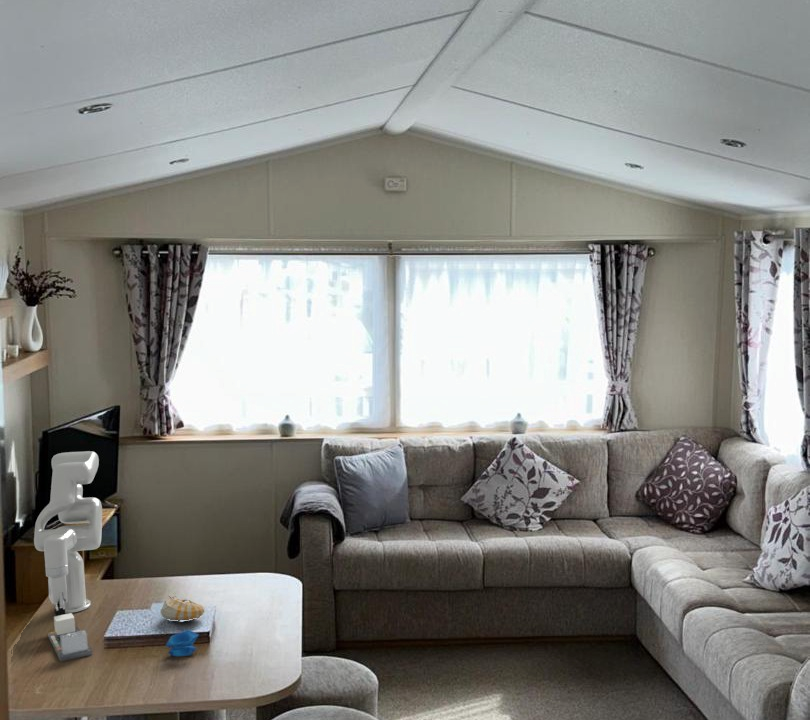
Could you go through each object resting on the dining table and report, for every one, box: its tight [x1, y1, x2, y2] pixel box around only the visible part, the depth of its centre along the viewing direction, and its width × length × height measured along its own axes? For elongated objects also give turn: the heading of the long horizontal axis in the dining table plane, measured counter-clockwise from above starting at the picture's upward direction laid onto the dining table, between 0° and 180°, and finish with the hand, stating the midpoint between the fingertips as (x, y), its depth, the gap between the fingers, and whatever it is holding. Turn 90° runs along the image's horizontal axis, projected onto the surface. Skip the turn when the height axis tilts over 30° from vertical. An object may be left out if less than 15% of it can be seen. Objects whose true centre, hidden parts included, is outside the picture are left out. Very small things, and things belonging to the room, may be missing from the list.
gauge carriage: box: [50, 613, 76, 635], centre depth 331 cm, size 5×8×5 cm, turn 120°
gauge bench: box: [47, 626, 93, 663], centre depth 326 cm, size 24×10×8 cm, turn 30°
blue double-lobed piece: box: [165, 629, 200, 657], centre depth 316 cm, size 7×9×12 cm
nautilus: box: [160, 596, 205, 621], centre depth 347 cm, size 8×22×15 cm
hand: (60, 619), depth 338 cm, fingers closed
